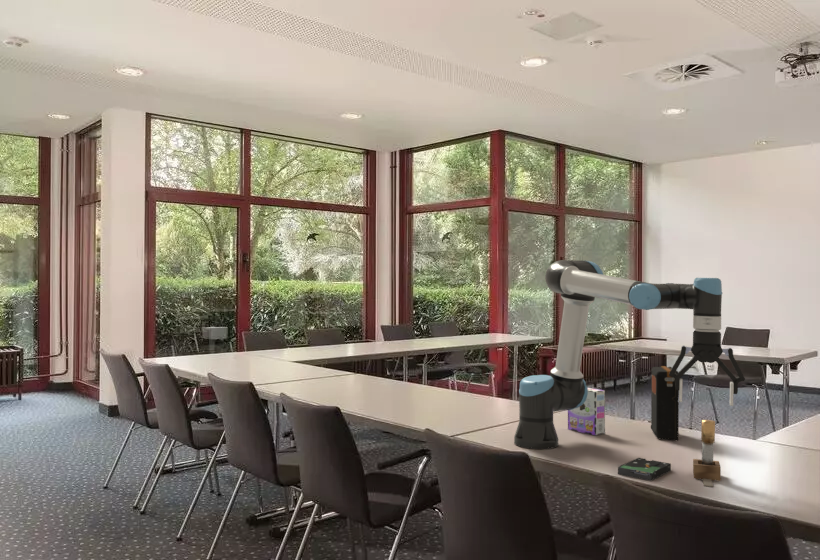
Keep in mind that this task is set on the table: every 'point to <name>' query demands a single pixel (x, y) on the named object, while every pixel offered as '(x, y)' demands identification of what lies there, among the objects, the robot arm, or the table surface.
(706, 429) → the tan and gray bar
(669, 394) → the black orange case
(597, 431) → the candy box
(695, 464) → the socket
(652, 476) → the disk drive
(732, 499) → the table surface
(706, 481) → the joist stripe
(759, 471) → the table surface
